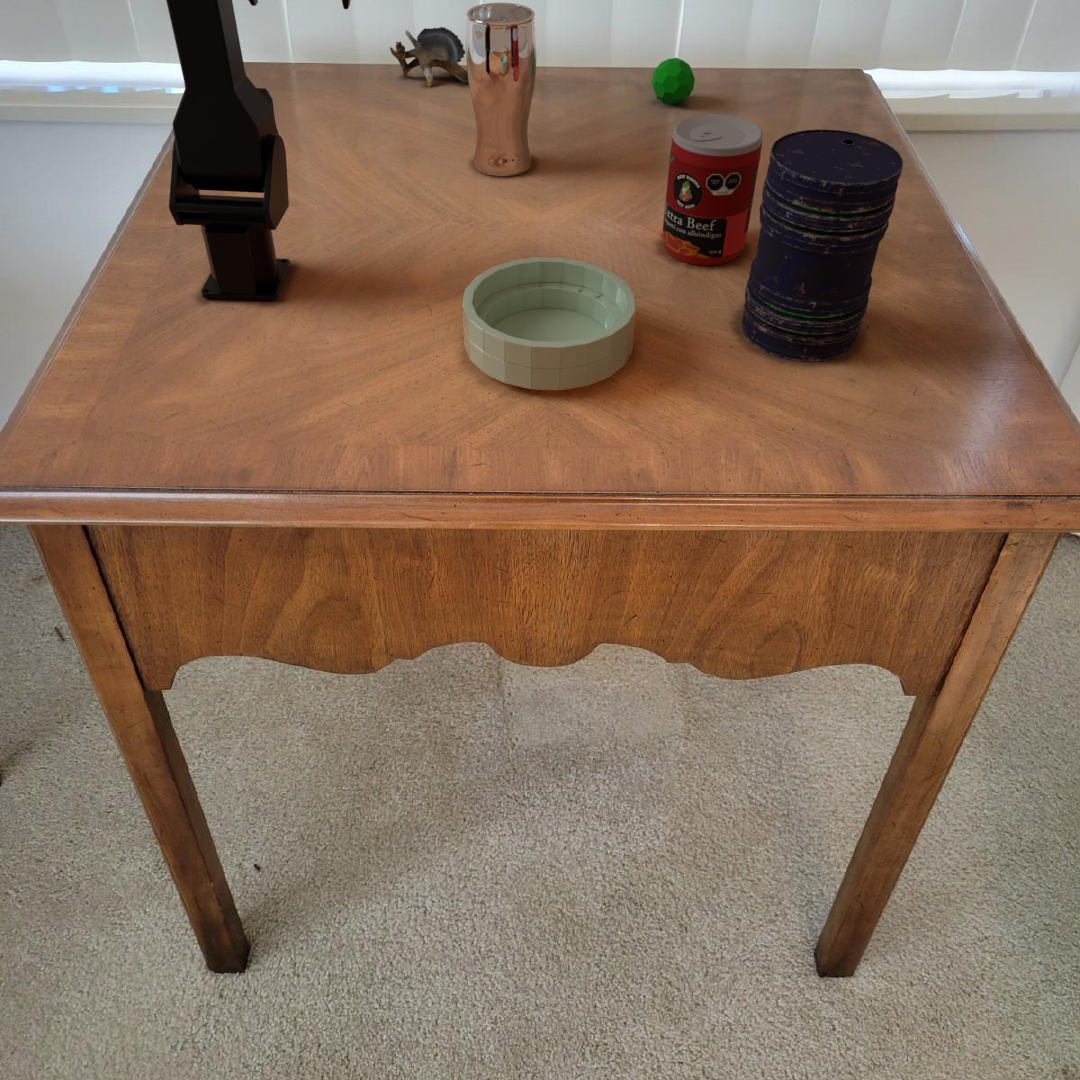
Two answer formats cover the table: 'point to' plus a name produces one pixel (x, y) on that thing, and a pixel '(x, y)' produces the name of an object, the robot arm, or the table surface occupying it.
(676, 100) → the polyhedron
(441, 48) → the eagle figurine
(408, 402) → the table surface
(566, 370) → the bowl
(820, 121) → the table surface
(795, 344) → the dark blue cylinder
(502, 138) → the beer glass
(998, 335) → the table surface
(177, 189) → the robot arm
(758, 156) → the canned food
